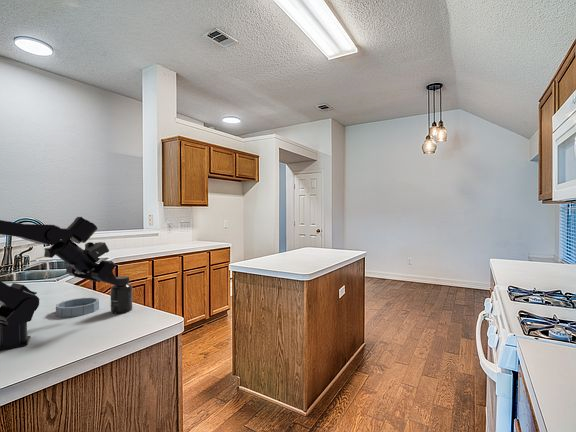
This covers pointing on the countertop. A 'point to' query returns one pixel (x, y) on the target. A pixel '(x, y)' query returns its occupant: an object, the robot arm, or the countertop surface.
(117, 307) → the supplement bottle
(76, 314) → the bowl
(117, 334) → the countertop surface
